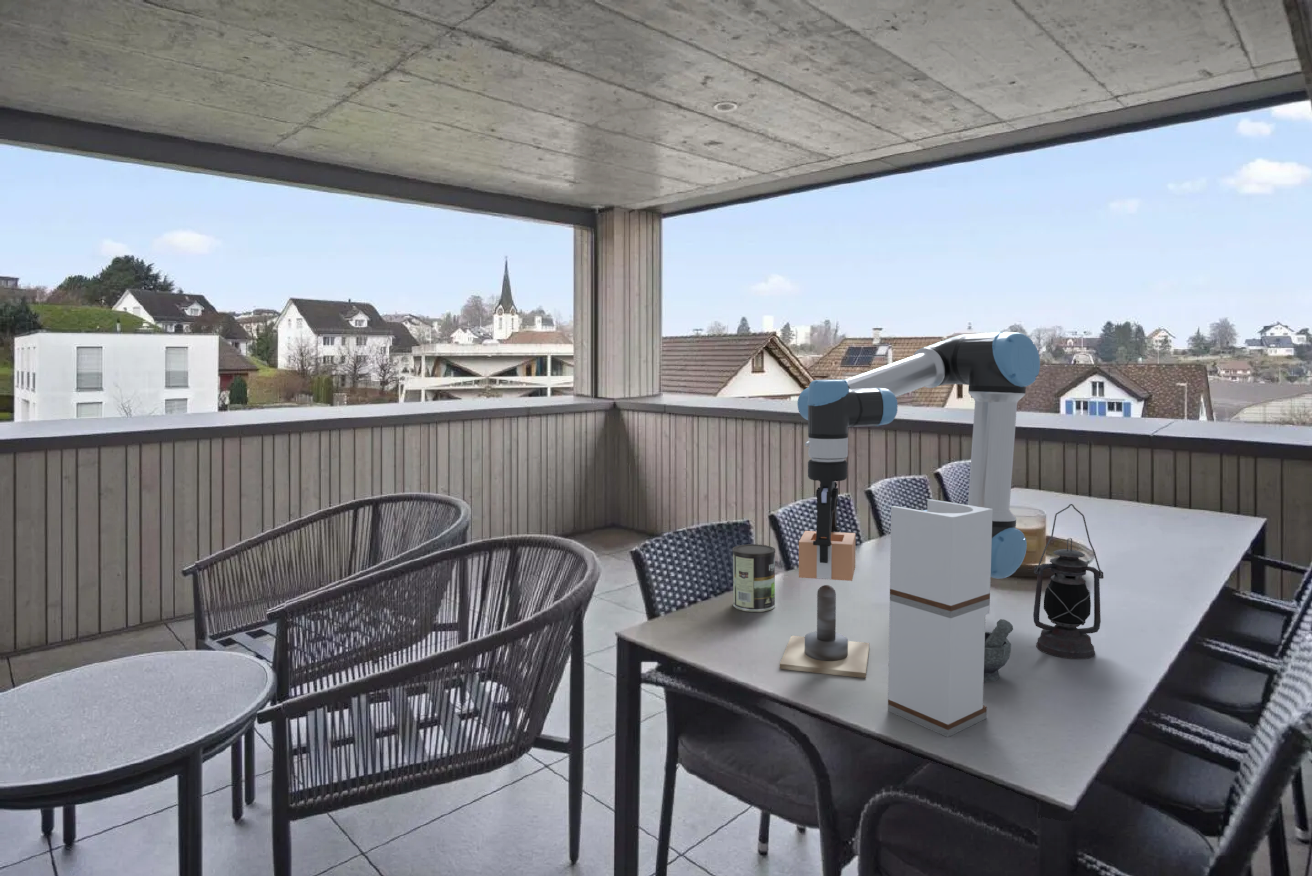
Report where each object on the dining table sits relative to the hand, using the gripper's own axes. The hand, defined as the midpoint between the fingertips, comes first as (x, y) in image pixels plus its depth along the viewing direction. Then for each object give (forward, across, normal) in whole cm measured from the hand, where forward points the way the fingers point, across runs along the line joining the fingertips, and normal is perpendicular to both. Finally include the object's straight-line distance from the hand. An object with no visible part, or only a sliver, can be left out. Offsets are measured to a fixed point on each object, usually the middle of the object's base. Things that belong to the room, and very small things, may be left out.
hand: (826, 571), depth 151 cm
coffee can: (+18, -29, -20) cm, 40 cm away
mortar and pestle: (+18, +1, +29) cm, 34 cm away
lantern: (+18, -18, +46) cm, 53 cm away
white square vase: (+18, +20, +20) cm, 33 cm away
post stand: (+18, 0, 0) cm, 18 cm away
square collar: (0, 0, 0) cm, 0 cm away
